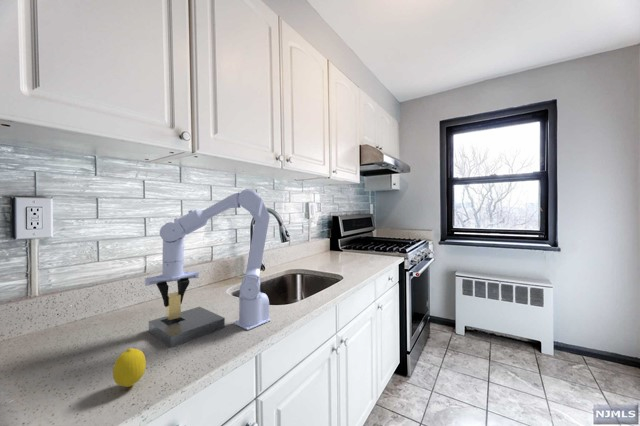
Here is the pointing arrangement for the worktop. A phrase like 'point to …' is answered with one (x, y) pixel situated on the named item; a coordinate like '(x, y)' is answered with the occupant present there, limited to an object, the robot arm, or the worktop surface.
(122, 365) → the lemon
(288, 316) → the worktop surface
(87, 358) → the worktop surface
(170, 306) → the tan wooden block
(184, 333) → the peg hole base
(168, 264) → the robot arm
